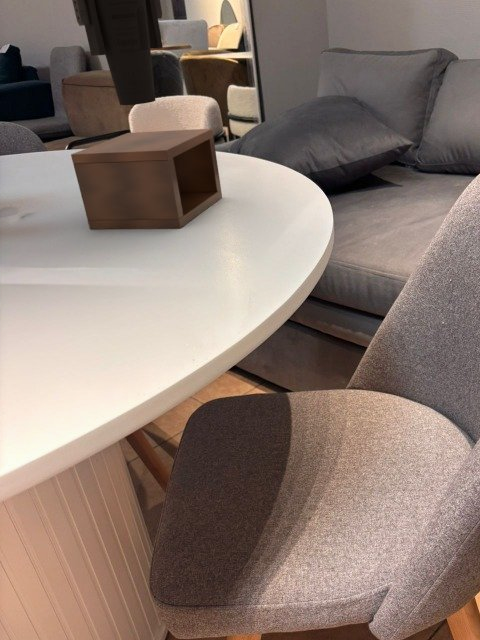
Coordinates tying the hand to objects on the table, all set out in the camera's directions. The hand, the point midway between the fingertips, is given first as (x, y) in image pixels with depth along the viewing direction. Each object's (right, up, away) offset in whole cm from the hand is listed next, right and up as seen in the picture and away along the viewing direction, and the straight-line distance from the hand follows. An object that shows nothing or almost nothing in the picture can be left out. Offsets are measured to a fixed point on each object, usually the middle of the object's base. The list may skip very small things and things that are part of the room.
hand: (127, 51), depth 84 cm
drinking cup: (+1, -5, +3) cm, 6 cm away
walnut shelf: (+2, -18, +11) cm, 21 cm away
